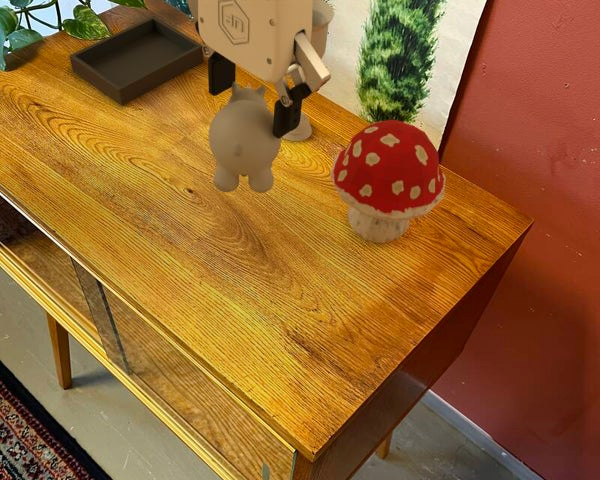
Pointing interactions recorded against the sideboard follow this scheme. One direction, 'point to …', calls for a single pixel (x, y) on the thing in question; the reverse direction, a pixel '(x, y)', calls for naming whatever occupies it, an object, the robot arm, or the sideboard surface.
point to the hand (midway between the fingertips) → (253, 109)
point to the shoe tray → (137, 59)
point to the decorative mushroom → (388, 179)
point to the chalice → (320, 23)
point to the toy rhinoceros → (244, 141)
